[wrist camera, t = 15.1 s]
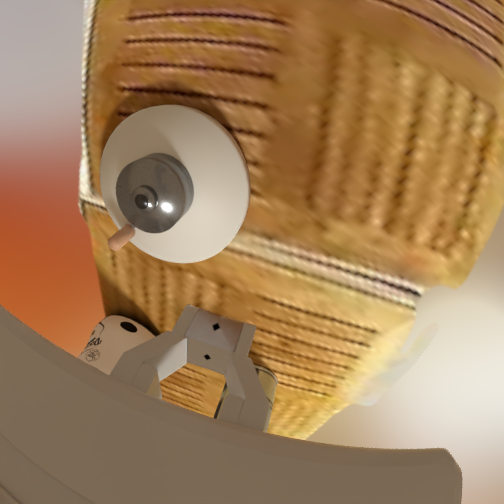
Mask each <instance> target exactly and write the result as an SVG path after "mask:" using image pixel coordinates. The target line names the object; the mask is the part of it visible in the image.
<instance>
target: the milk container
mask: <svg viewBox="0 0 504 504" xmlns="http://www.w3.org/2000/svg"><path fill="white" fill-rule="evenodd" d="M154 337H156V335H155V334H154V333H153V332H151V331H150V330H149V329H148V328H147V327H146V326H144V325H142V324H140V323H139V322H137V321H136V320H134V319H131V318H128V317H125V316H121V315H111V316H108V317H106V318H104V319H103V320H102V321H101V322H99V323H98V325H97V326H96V327H95V328H94V330H93V331H92V334H91V336H90V339H89V342H88V344H87V346H86V347H85V349H84V350H83V352H82V353H81V354H80V355H79V357H78V359H80V360H82V361H83V362H85V363H87V364H89V365H91V366H92V367H94V368H96V369H98V370H100V371H102V372H104V373H105V374H107V375H110V373H111V372H112V370H113V368H114V367H115V365H116V364H117V362H118V360H119V359H120V357H121V356H122V354H123V353H124V352H125V351H128V350H130V349H132V348H134V347H136V346H138V345H140V344H142V343H144V342H146V341H148V340H150V339H152V338H154Z"/></svg>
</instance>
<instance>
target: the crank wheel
mask: <svg viewBox="0 0 504 504" xmlns="http://www.w3.org/2000/svg"><path fill="white" fill-rule="evenodd" d="M152 153H165V154H168V155H171V156H173V157H175V158H176V159H177V160H179V161H180V162H181V163H182V164H183V165H184V166H185V167H186V169H187V170H188V172H189V174H190V176H191V179H192V181H193V186H194V198H193V202H192V205H191V207H190V209H189V210H188V212H187V213H186V214H185V215H184V216H183V217H182V218H181V219H180V220H179V221H178V222H177V223H176V224H175V225H174V226H173V227H172V228H170V229H169V230H167V231H165V232H162V233H156V234H154V233H147V232H144V231H142V230H140V229H138V228H136V227H135V226H133V225H132V224H131V223H130V222H129V221H128V220H127V219H126V218H125V216H124V215H123V213H122V212H121V210H120V208H119V205H118V202H117V198H116V182H117V178H118V176H119V174H120V172H121V171H122V169H123V168H124V167H125V166H126V165H128V164H129V163H131V162H133V161H135V160H138V159H140V158H142V157H144V156H146V155H149V154H152ZM100 185H101V191H102V196H103V199H104V202H105V205H106V208H107V210H108V212H109V214H110V216H111V218H112V220H113V221H114V223H115V224H116V226H117V227H118V229H119V231H118V232H116V233H115V234H114V235H113V236H112V237H111V238H109V240H108V245H109V247H110V248H111V249H112V250H114V251H118V250H119V249H120V248H121V247H122V246H124V245H125V244H126V243H127V242H128V241H130V242H132V243H133V244H134V245H135V246H137V247H138V248H139V249H141V250H142V251H144V252H146V253H147V254H149V255H151V256H154V257H156V258H159V259H161V260H165V261H169V262H175V263H192V262H198V261H202V260H205V259H208V258H210V257H212V256H214V255H216V254H217V253H219V252H220V251H222V250H223V249H224V248H225V247H226V246H227V245H228V244H229V243H230V242H231V241H232V239H233V238H234V237H235V235H236V233H237V232H238V230H239V228H240V227H241V225H242V223H243V221H244V219H245V216H246V214H247V211H248V207H249V203H250V194H251V187H250V176H249V170H248V167H247V164H246V160H245V158H244V155H243V153H242V151H241V149H240V147H239V145H238V144H237V142H236V141H235V139H234V138H233V136H232V135H231V134H230V133H229V132H228V130H227V129H226V128H225V127H224V126H222V125H221V124H220V123H219V122H218V121H217V120H215V119H214V118H212V117H211V116H209V115H208V114H206V113H204V112H202V111H200V110H198V109H195V108H192V107H188V106H183V105H161V106H154V107H148V108H145V109H142V110H139V111H137V112H136V113H134V114H132V115H130V116H129V117H127V118H126V119H125V120H123V121H122V122H121V123H120V124H119V125H118V126H117V127H116V129H115V130H114V131H113V133H112V134H111V135H110V137H109V139H108V141H107V143H106V145H105V148H104V150H103V154H102V158H101V164H100Z"/></svg>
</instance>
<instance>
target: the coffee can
mask: <svg viewBox="0 0 504 504" xmlns="http://www.w3.org/2000/svg"><path fill="white" fill-rule="evenodd" d="M254 367H255V369H256V372H257V375H258V377H259V380H260V382H261V385H262V387H263V390H264V392H265V395H266V397H267V399H268V402H269V408H268V412H267V416H266V420H265V425H264V429H263V432H266V433H267V429H268V425H269V420H270V415H271V411H272V406H273V401H274V396H275V391H276V386H277V383H278V380H277V377H276V376H275V375H274V374H273V373H272V372H271V371H270V370H268V369H266V368H264V367H261V366H258V365H254ZM227 395H229V390H228V387H227V383H225V386H224V389H223V392H222V395H221V398H220V401H219V404H218V406H217V409H216V412H215V415H214V419H218V417H219V415H220V412H221V409H222V406H223V404H224V401H225V398H226V396H227Z"/></svg>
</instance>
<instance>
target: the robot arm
mask: <svg viewBox="0 0 504 504" xmlns="http://www.w3.org/2000/svg"><path fill="white" fill-rule="evenodd" d="M255 330H256V326H255V325H252V324H248V323H244V322H242V321H239V320H235V319H232V318H228V317H225V316H221V315H218V314H215V313H212V312H209V311H206V310H203V309H201V308H197V307H195V306H192V305H189V304H188V305H187V306H186V307H185V309H184V310H183V312H182V314H181V316H180V317H179V319H178V321H177V323H176V324H175V326H174V328H173V330H172V332H171V331H166V332H164V333H162V334H160V335H158V336H156V337H154V338H152V339H150V340H148V341H146V342H144V343H142V344H140V345H138V346H136V347H134V348H132V349H130V350H128V351H125V352H124V353H123V354H122V356H121V357H120V359H119V360H118V362H117V364H116V365H115V367H114V368H113V370H112V372H111V373H110V375H107V374H105V373H104V372H102V371H100V370H98V369H96V368H94V367H92V366H91V365H89V364H87V363H85V362H83V361H82V360H80V359H78V358H76V357H75V356H73V355H71V354H70V353H68V352H66V351H65V350H63V349H62V348H60V347H58V346H56V345H55V344H54V343H52V342H51V341H49V340H47V339H46V338H45V337H43V336H42V335H40V334H39V333H37V332H36V331H34V330H33V329H32V328H30V327H29V326H27V325H26V324H25V323H23V322H22V321H20V320H19V319H18V318H17V317H15V316H14V315H13V314H11V313H10V312H9V311H7V310H6V309H5V308H4V307H2V306H1V305H0V504H461V498H462V472H461V469H460V467H459V465H458V464H457V462H456V461H455V459H454V458H453V457H452V455H451V454H450V452H449V451H448V450H447V449H444V448H431V449H380V448H364V447H351V446H342V445H333V444H325V443H318V442H312V441H306V440H300V439H294V438H289V437H284V436H279V435H274V434H270V433H266V432H263V429H264V425H265V420H266V416H267V412H268V408H269V402H268V399H267V397H266V395H265V392H264V390H263V387H262V385H261V382H260V380H259V377H258V375H257V372H256V369H255V367H254V364H253V362H252V359H251V358H249V357H248V354H249V351H250V347H251V344H252V340H253V337H254V334H255ZM187 362H188V363H191V364H194V365H197V366H200V367H203V368H206V369H209V370H212V371H215V372H218V373H221V374H224V375H225V379H226V383H227V387H228V390H229V395H227V396H226V398H225V401H224V404H223V406H222V409H221V412H220V415H219V417H218V419H214V418H211V417H208V416H205V415H202V414H199V413H196V412H193V411H191V410H188V409H185V408H182V407H180V406H177V405H174V404H172V403H169V402H167V401H164V400H162V399H161V398H162V394H161V389H160V383H159V382H160V381H161V380H163V379H164V378H166V377H167V376H169V375H170V374H172V373H173V372H175V371H176V370H178V369H179V368H181V367H182V366H184V365H185V364H187Z"/></svg>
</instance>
